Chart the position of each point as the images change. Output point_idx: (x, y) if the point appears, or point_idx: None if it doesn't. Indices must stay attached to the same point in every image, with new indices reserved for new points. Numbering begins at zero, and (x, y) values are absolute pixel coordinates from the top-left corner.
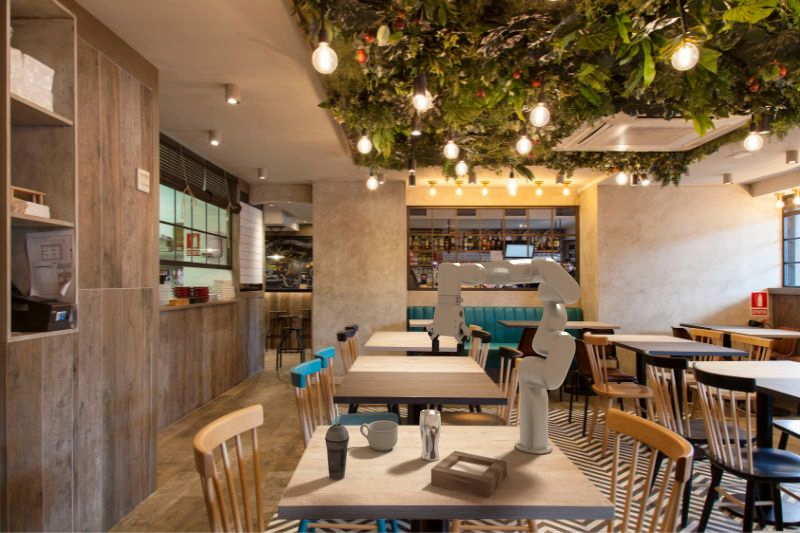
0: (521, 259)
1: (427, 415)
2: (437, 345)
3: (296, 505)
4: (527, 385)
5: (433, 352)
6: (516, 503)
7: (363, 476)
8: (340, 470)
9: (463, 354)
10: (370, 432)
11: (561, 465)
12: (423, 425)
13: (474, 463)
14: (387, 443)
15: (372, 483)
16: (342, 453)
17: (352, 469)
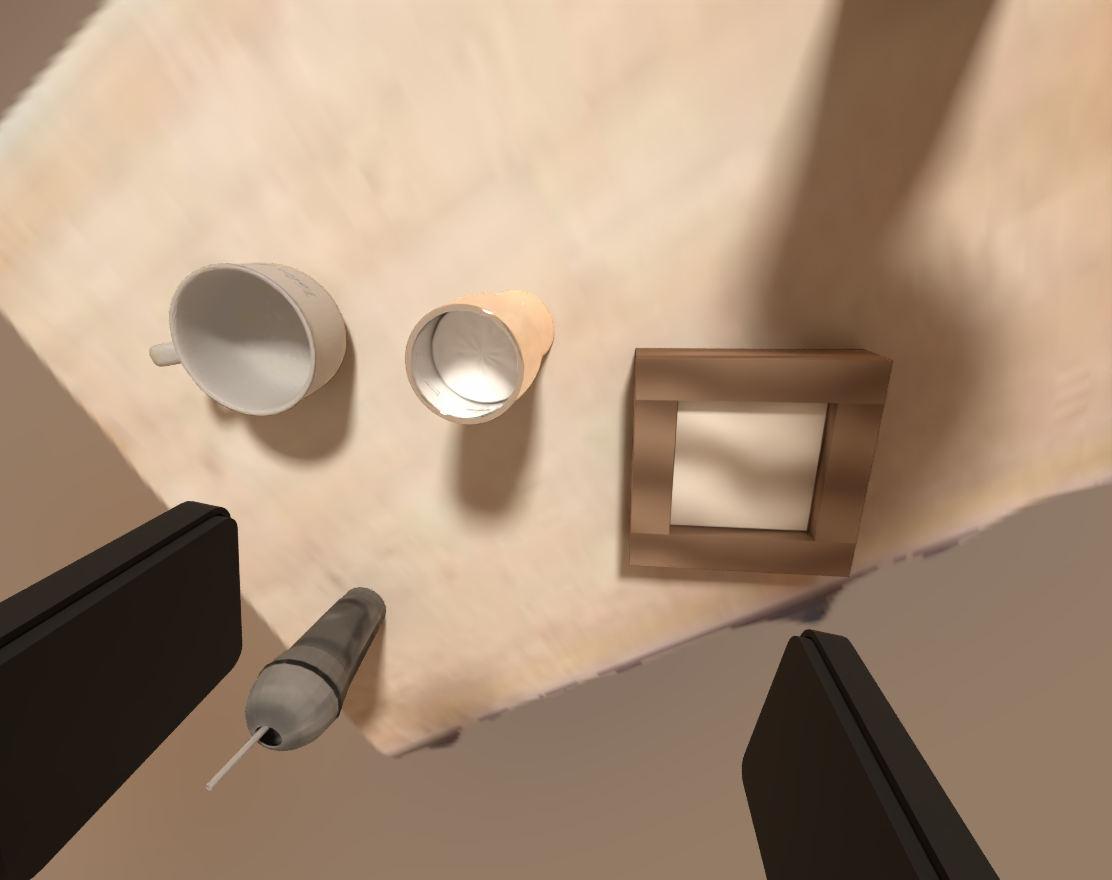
0: None
1: (478, 422)
2: (127, 650)
3: (403, 751)
4: None
5: (235, 650)
6: (926, 540)
7: (421, 571)
8: (374, 636)
9: (844, 650)
10: (244, 405)
11: None
12: (472, 408)
13: (744, 404)
14: (333, 374)
15: (473, 599)
16: (354, 673)
17: (360, 544)
